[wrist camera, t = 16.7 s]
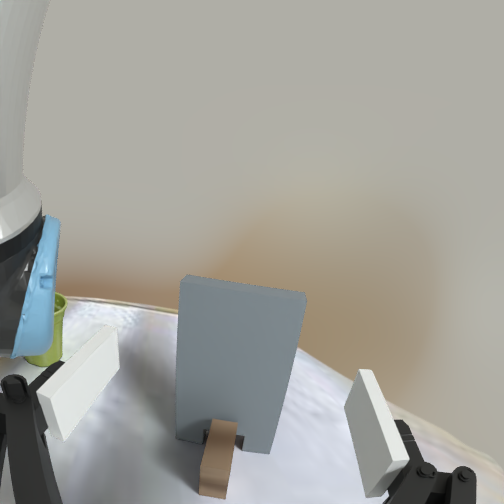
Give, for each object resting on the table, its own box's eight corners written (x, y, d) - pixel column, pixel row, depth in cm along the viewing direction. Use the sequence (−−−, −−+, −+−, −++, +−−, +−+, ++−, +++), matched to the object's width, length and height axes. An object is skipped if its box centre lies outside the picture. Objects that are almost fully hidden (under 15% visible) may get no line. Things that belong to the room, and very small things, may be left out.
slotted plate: (175, 438, 28) (180, 281, 24) (180, 426, 30) (186, 274, 26) (269, 454, 28) (307, 300, 24) (269, 441, 30) (304, 292, 26)
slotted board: (225, 499, 21) (230, 470, 20) (198, 494, 21) (200, 465, 20) (246, 366, 45) (250, 338, 44) (230, 364, 45) (234, 335, 44)
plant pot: (59, 335, 42) (54, 285, 40) (83, 364, 37) (77, 308, 35) (9, 347, 35) (0, 294, 33) (26, 381, 29) (13, 322, 28)
